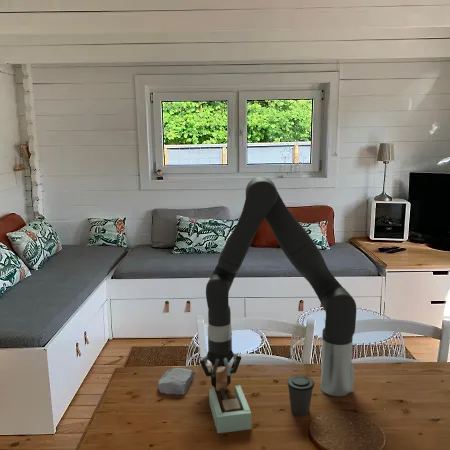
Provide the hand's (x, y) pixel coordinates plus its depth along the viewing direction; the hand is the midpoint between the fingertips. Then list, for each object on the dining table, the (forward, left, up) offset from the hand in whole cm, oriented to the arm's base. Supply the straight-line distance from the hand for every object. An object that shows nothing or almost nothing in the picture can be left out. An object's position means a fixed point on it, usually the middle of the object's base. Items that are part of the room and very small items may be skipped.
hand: (220, 385), depth 153 cm
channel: (0, +15, -1) cm, 15 cm away
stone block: (+14, -5, -2) cm, 15 cm away
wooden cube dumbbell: (0, +9, -1) cm, 9 cm away
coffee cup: (-21, +17, -1) cm, 27 cm away
